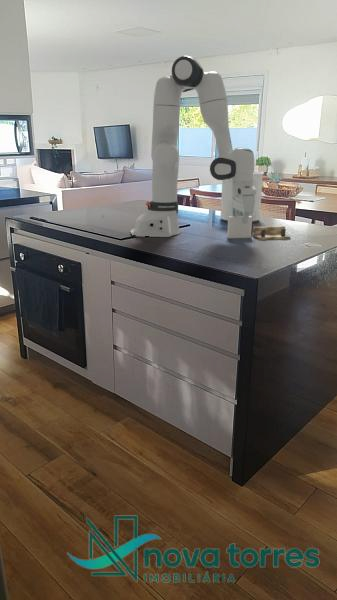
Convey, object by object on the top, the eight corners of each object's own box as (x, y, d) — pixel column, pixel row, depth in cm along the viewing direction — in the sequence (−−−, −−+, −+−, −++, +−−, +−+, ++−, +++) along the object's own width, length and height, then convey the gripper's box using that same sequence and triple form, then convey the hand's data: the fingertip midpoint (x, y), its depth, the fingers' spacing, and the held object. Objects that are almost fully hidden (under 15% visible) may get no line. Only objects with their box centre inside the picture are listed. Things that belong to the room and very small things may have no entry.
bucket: (232, 215, 251) (235, 169, 243) (268, 219, 239) (272, 171, 231) (209, 221, 231) (211, 172, 223) (247, 226, 220) (250, 174, 211)
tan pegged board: (258, 239, 190) (259, 230, 188) (251, 235, 199) (252, 226, 198) (290, 239, 192) (291, 229, 190) (281, 234, 201) (282, 225, 200)
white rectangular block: (228, 238, 193) (229, 217, 190) (227, 237, 195) (228, 216, 192) (250, 237, 194) (252, 217, 191) (249, 236, 196) (250, 216, 193)
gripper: (228, 186, 196) (227, 217, 201) (242, 191, 177) (241, 225, 182) (242, 185, 197) (241, 217, 202) (258, 190, 178) (256, 225, 183)
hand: (241, 221), depth 192 cm, fingers open, 8 cm apart
